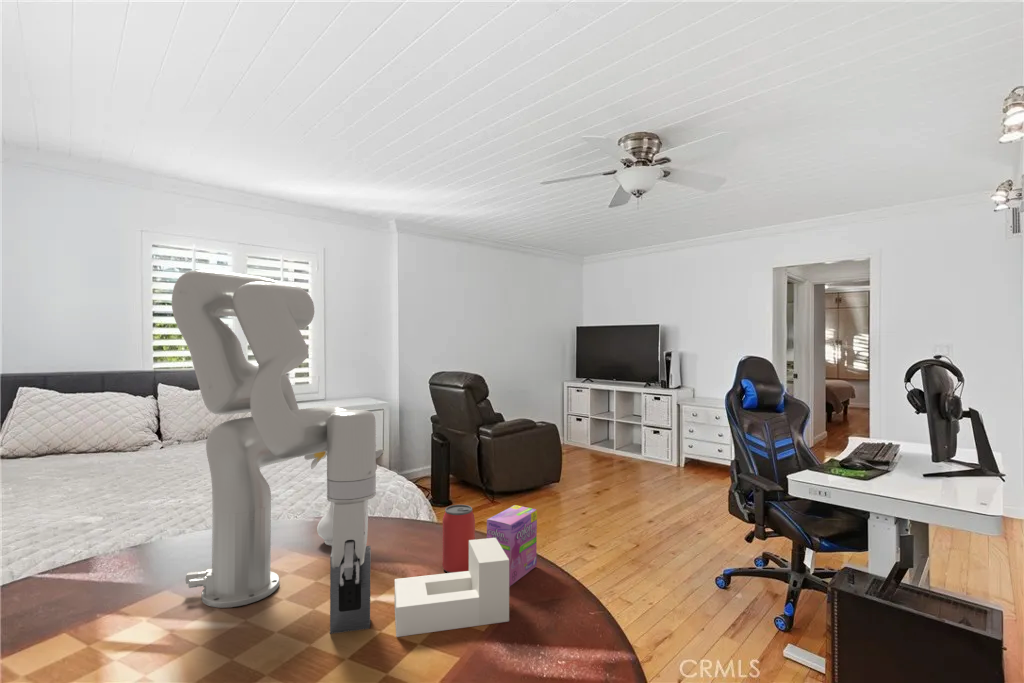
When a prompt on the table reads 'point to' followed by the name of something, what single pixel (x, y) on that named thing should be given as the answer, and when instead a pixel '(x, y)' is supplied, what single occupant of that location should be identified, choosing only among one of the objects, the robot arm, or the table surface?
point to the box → (516, 538)
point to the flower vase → (326, 521)
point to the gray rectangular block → (354, 617)
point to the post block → (456, 594)
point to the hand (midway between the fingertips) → (351, 594)
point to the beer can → (457, 537)
